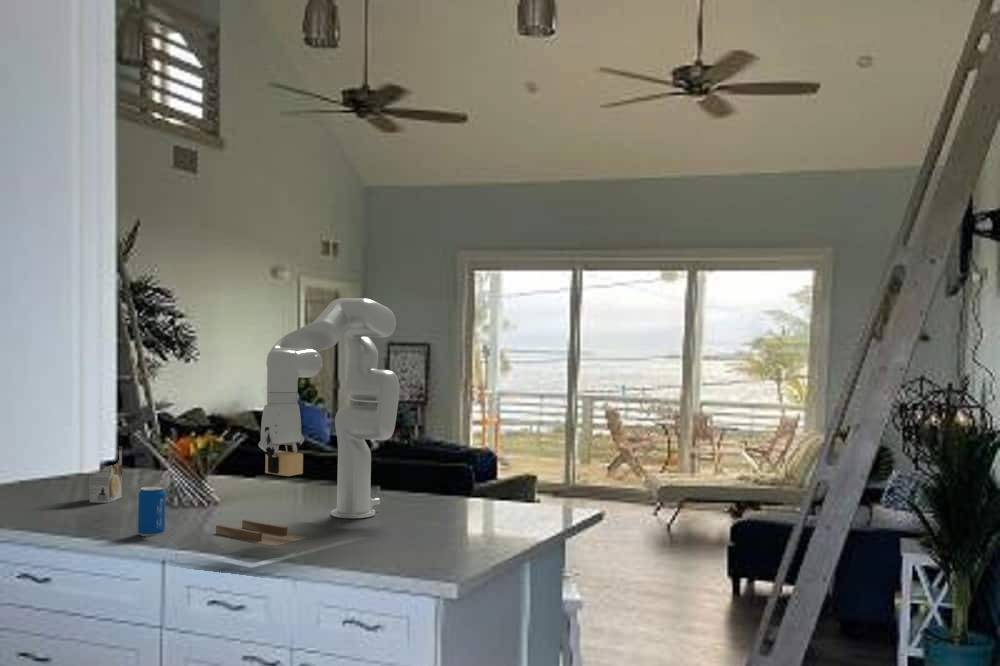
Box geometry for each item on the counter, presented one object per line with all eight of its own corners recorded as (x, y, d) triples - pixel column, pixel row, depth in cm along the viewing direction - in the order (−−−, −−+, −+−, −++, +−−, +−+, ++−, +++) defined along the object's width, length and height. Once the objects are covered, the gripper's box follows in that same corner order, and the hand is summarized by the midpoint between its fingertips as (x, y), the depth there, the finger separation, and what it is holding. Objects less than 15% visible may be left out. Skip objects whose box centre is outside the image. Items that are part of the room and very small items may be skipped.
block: (279, 470, 241) (280, 450, 241) (302, 473, 237) (303, 453, 237) (265, 472, 237) (265, 452, 237) (288, 476, 233) (288, 456, 233)
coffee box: (101, 497, 295) (102, 445, 295) (122, 497, 294) (123, 446, 294) (88, 502, 285) (89, 449, 285) (109, 503, 285) (110, 449, 285)
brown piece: (248, 530, 250) (248, 519, 250) (308, 541, 238) (308, 529, 238) (212, 537, 241) (213, 526, 241) (273, 550, 229) (274, 537, 229)
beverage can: (148, 538, 238) (149, 490, 238) (132, 535, 242) (133, 488, 242) (170, 534, 244) (171, 487, 244) (153, 531, 247) (154, 485, 247)
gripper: (296, 396, 247) (295, 465, 247) (245, 400, 232) (245, 474, 233) (317, 397, 242) (316, 468, 243) (267, 402, 228) (266, 477, 228)
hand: (281, 470), depth 238 cm, fingers closed on block, 5 cm apart
